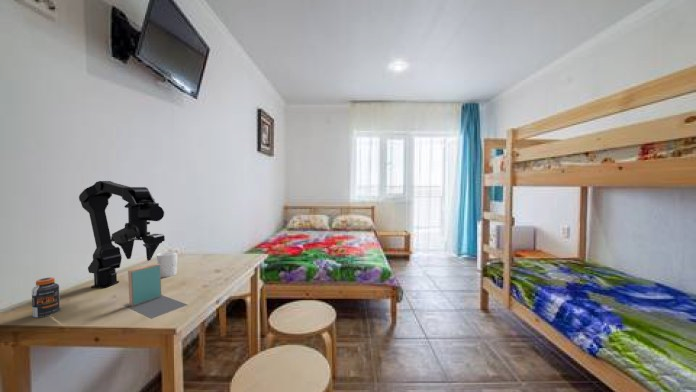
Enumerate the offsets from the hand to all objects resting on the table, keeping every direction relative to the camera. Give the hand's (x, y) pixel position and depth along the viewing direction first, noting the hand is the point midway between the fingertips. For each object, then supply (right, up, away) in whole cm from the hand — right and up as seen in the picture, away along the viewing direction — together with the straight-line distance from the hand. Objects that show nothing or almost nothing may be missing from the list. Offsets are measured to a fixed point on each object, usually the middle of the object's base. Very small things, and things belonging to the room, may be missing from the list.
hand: (138, 259), depth 107 cm
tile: (+10, -12, -10) cm, 19 cm away
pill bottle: (-16, -13, -18) cm, 28 cm away
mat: (+16, -13, -13) cm, 24 cm away
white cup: (-1, -12, +19) cm, 22 cm away
